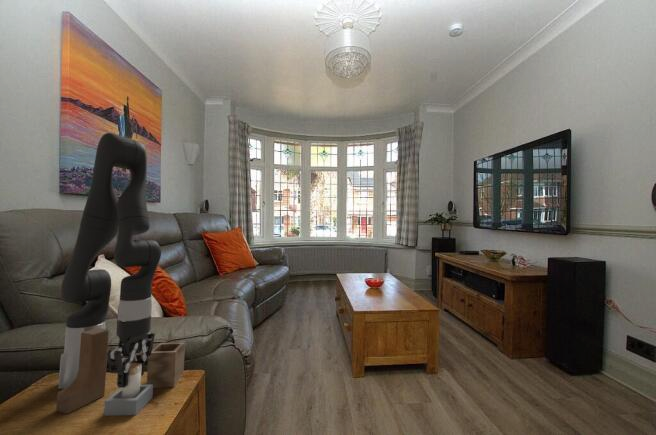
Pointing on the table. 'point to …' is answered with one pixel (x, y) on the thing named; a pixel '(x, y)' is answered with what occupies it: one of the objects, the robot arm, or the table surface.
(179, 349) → the socket tower
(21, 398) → the table surface
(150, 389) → the low socket
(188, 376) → the table surface
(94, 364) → the wooden block
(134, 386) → the white and tan cylinder
